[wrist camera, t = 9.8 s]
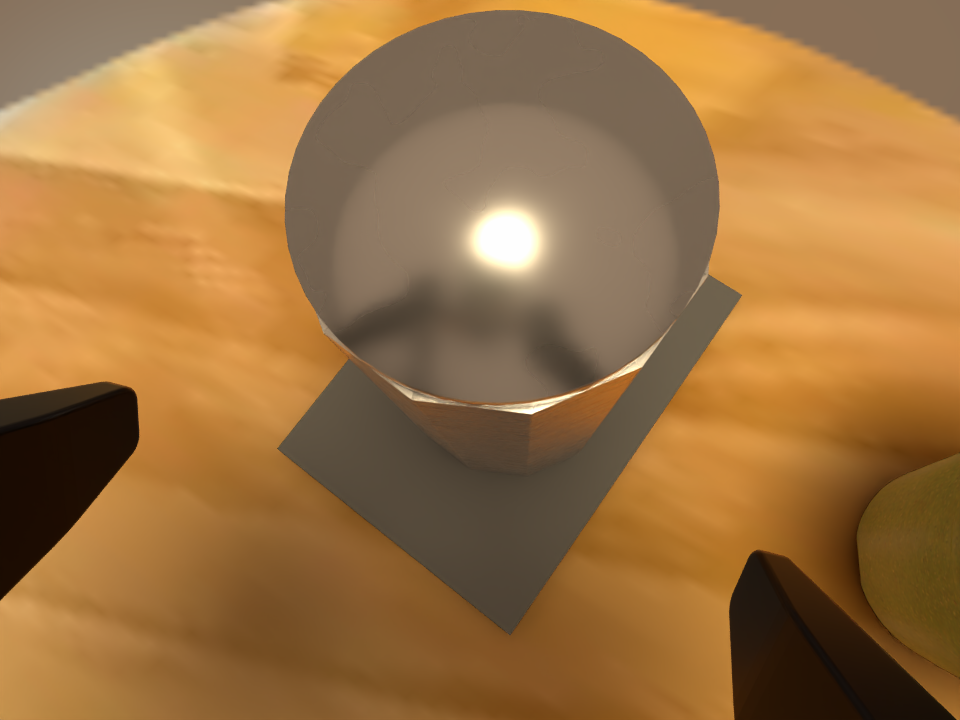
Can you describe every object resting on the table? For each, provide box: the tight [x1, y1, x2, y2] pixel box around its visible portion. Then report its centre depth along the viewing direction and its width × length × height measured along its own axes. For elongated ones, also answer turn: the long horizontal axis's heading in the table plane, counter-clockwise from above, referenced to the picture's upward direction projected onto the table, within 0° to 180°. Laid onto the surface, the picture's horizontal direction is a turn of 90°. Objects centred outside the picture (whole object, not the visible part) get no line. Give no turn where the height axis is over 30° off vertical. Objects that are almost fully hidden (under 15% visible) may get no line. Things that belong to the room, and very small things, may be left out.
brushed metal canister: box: [285, 10, 720, 476], centre depth 16 cm, size 7×7×12 cm
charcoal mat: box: [277, 275, 742, 635], centre depth 23 cm, size 14×10×1 cm
